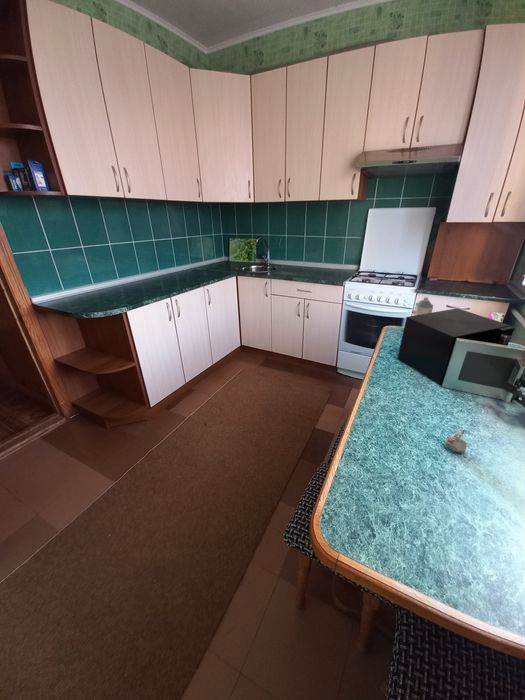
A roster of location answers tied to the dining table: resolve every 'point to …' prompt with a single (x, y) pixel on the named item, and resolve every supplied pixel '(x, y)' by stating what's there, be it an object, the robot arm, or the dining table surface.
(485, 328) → the oven
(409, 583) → the dining table surface
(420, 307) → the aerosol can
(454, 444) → the figurine
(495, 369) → the oven door
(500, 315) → the candy bar box
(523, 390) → the robot arm
